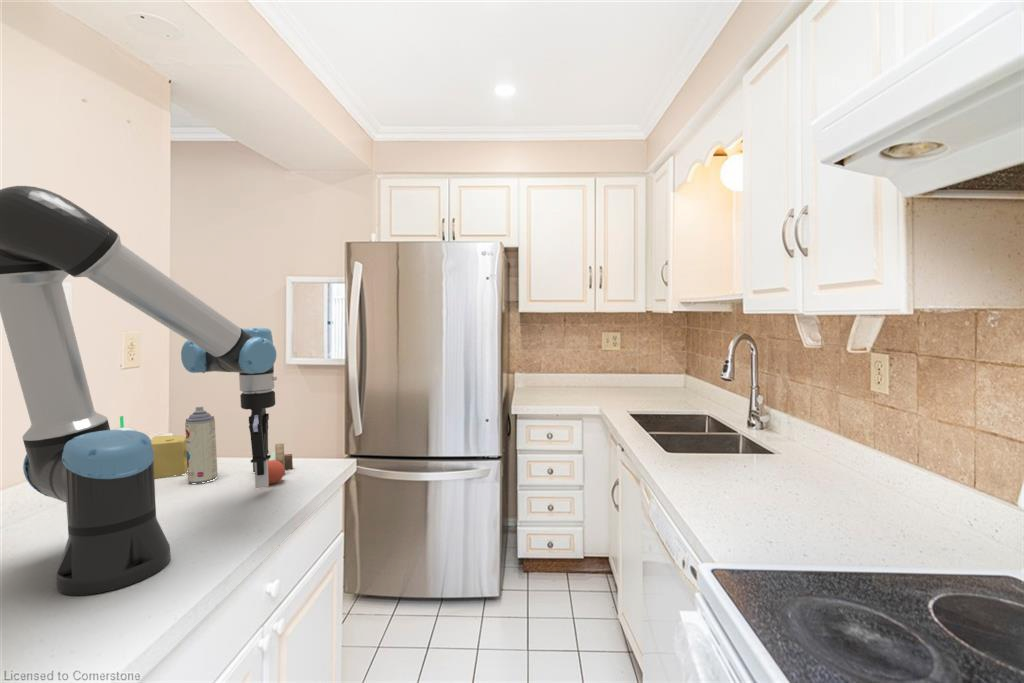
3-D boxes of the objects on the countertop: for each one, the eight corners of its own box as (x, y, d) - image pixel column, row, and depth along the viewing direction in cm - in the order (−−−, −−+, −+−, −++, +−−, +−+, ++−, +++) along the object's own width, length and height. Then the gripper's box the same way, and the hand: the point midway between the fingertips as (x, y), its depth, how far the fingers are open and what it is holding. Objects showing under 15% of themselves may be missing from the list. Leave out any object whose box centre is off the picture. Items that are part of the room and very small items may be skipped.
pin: (284, 475, 136) (283, 445, 136) (275, 476, 135) (274, 445, 135) (285, 473, 138) (284, 443, 138) (276, 474, 138) (275, 444, 137)
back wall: (292, 469, 142) (291, 455, 142) (253, 473, 139) (252, 459, 138) (292, 467, 144) (292, 453, 144) (254, 471, 141) (253, 457, 140)
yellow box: (196, 465, 148) (194, 432, 148) (185, 476, 138) (183, 440, 138) (155, 470, 145) (153, 436, 145) (141, 481, 135) (138, 444, 134)
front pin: (273, 472, 133) (278, 450, 140) (264, 472, 132) (269, 450, 139) (274, 478, 134) (278, 455, 141) (265, 478, 133) (269, 456, 140)
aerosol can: (191, 478, 136) (187, 406, 135) (219, 474, 138) (216, 403, 137) (185, 486, 129) (181, 410, 128) (215, 482, 132) (211, 407, 131)
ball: (287, 464, 135) (281, 486, 132) (263, 461, 133) (256, 483, 130) (287, 459, 130) (280, 483, 127) (262, 456, 128) (255, 480, 125)
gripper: (271, 393, 115) (275, 493, 116) (277, 386, 128) (281, 477, 129) (234, 396, 113) (239, 497, 114) (245, 388, 125) (249, 480, 126)
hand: (262, 486), depth 121 cm, fingers closed
